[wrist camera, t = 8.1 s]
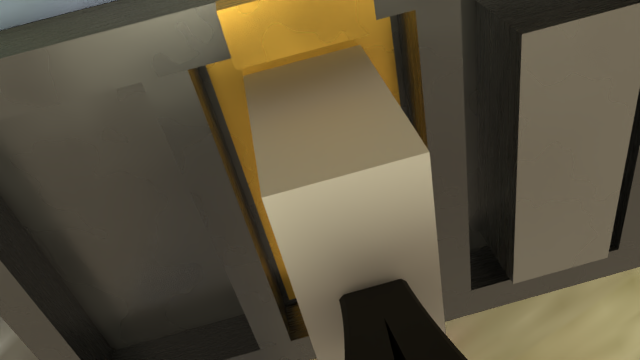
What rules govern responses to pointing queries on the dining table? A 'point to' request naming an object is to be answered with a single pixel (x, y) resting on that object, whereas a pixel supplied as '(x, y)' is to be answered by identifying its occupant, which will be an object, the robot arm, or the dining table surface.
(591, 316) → the dining table surface
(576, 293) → the dining table surface
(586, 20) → the rack
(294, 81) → the tall cream block
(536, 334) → the dining table surface
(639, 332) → the dining table surface
